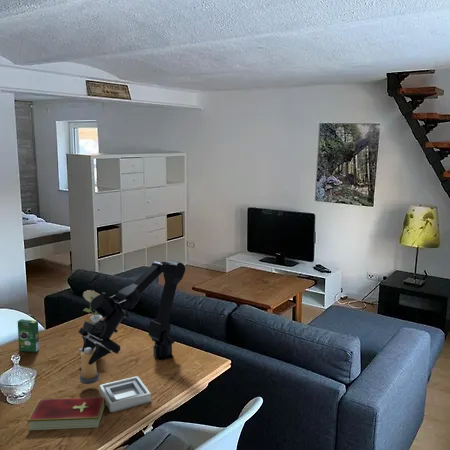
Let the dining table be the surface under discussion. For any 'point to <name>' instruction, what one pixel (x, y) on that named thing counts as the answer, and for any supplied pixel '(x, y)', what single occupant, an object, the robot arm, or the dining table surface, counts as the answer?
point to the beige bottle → (88, 367)
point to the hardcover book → (67, 413)
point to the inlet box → (125, 394)
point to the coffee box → (28, 335)
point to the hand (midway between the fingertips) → (84, 361)
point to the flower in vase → (89, 297)
